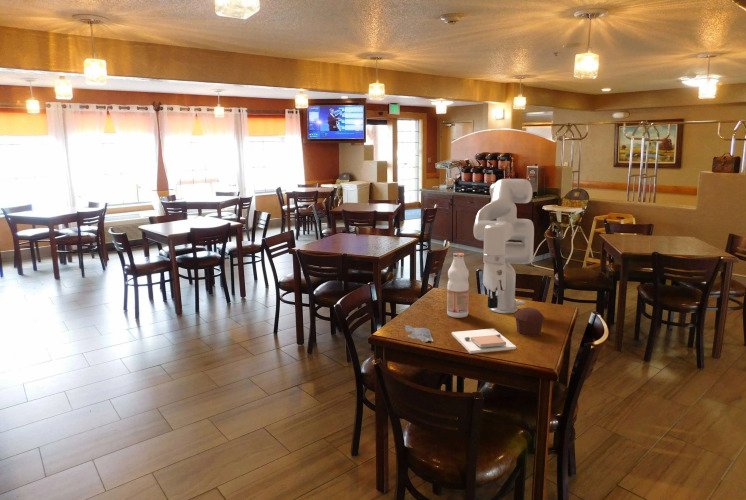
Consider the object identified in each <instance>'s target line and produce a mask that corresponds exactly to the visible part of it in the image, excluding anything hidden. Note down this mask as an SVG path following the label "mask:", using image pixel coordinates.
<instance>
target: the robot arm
mask: <svg viewBox="0 0 746 500" xmlns="http://www.w3.org/2000/svg"><path fill="white" fill-rule="evenodd" d="M532 187H533V186H532V183H531V182H530V181H529V180H528V179H525V178H501V179H498V180H497V181H496V182H494V183H492V184H491V185H490V186H489V194H490V197H491V199H490V202H489V203H487V204H486V205H484V206H483V207H481V208H480V209H479V210H478V212H477V214H476V215H475V221H474V223H473V236H474V238H475V239H476V240H478V241H483V255H482V256H483V258H482V260H483V263H484V264H483V272H482V274H483V275H482V284H483V286H484V287H485V289H486V290H487V293H486V294H487V308H489V310H490V311H492V312H493V313H498V314H513V313H517V312H518V311H519V309H518V306H524V305H525V304H526V303H525V300H519V299H515V298H516V279H517V278H516V270H515V268H514V267H513V265H511V264H518V265H519V264H520V265H521V264H522V265H528V264H530V263H532V261H533V257H534V246H535V245H534V241H535V239H534V238H535V227H534V226H535V225H534V222H533V221H532V220H531V219H528V218H517V214H518V213H517V212H518V211H517V206H516V204H528V203H530V202H531V201H532V199H533V188H532ZM514 241H515V242H514ZM518 241H519V242H518ZM520 241H521V242H520Z"/></svg>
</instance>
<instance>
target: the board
mask: <svg viewBox="0 0 746 500" xmlns="http://www.w3.org/2000/svg"><path fill="white" fill-rule="evenodd" d="M489 335H496V336H497V337H499V338H501V339H502V340H504V341H505V342H506V345H502V346H492V347H479V346H478V345H477V344H475V343H474V342H473V341H471V337H478V336H489ZM451 336H452V337H453V338H454V339H456V341H457V342H458V343H460V345H462V347H463V348H465V350H466V351H467V352H468V353H469V354H479V353H488V352H489V353H490V352H500V351H510V350H517V346H516V345H515V344H513V343H512V342H511V341H510V340H509V339H508V338H506V337H505V336H503V334H501V333H500V332H498V331H497V330H496V329H495V328H485V329H482V328H481V329H476V330H475V329H473V330H472V329H471V330H463V331H462V330H461V331H452V332H451Z"/></svg>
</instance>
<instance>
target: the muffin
mask: <svg viewBox="0 0 746 500" xmlns="http://www.w3.org/2000/svg"><path fill="white" fill-rule="evenodd" d="M514 318H515V321H516V322H515V324H516V333H518V334H519V335H522V336H525V337H538V336H540V335H541V332H542V327H543V323H544V321H545V318H546V317H545V316H544V315H543V314H542V312H541V311H540V310H538V309H537V308H534V307H524V308H523V307H522V308H521V309H518V311H517V312H516V313H515V314H514Z"/></svg>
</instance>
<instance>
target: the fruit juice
mask: <svg viewBox="0 0 746 500" xmlns="http://www.w3.org/2000/svg"><path fill="white" fill-rule="evenodd" d="M452 257H453V259H452V262H451V265H450V267H449V269H448V271H447V277H448V281H447V285H446V288H447V290H446V292H447V295H446V313H447V315H448V316H449V317H451V318H456V319H457V318H460V319H461V318H466V317H468V315H469V301H470V300H469V298H470V297H469V296H470V295H469V294H470V293H469V291H470V290H469V289H470V285H469V281H468V278H469V276H470V274H469V273H470V271H469V269H468V268H467V266H466V263H465V259H464V258H465V253H464V252H454V253H452Z"/></svg>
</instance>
